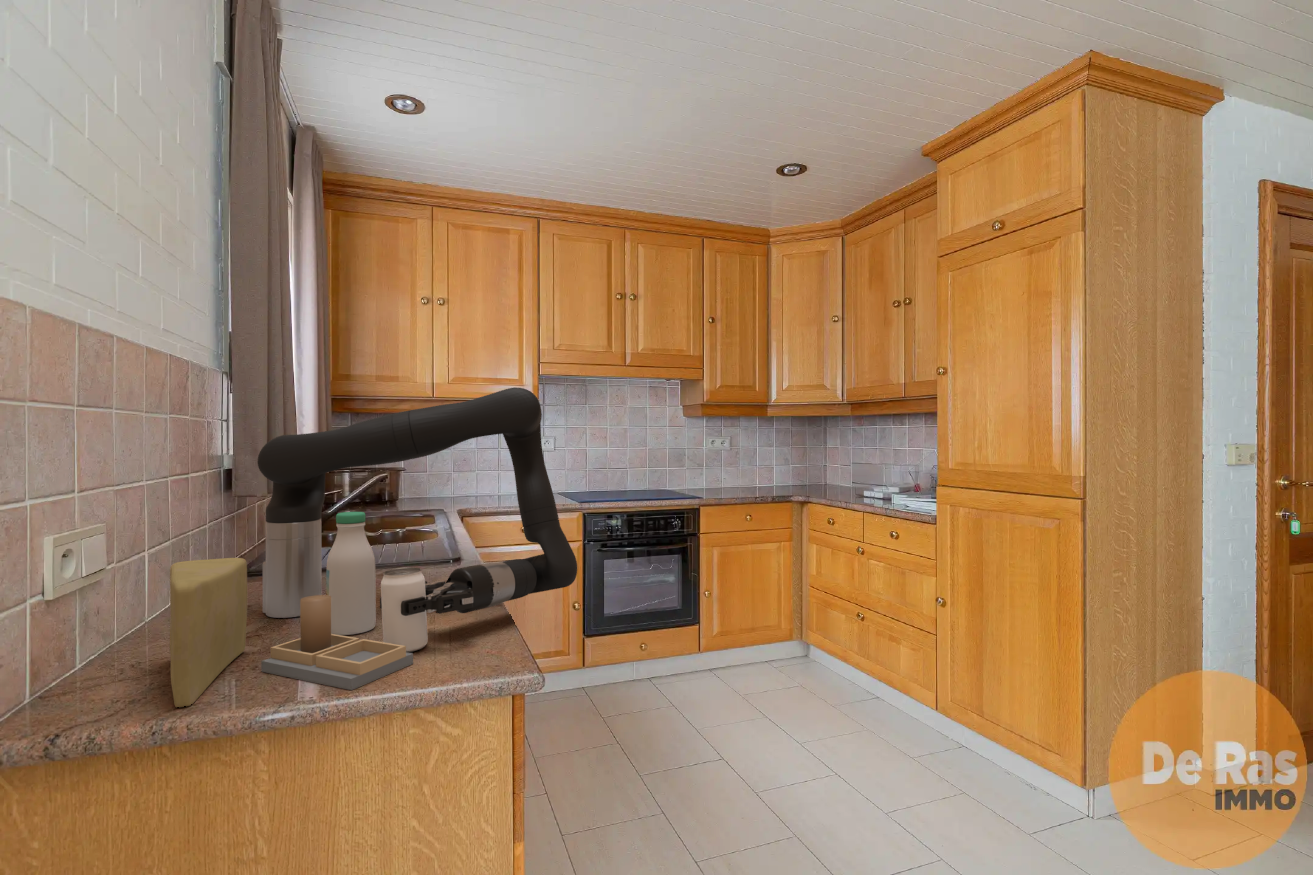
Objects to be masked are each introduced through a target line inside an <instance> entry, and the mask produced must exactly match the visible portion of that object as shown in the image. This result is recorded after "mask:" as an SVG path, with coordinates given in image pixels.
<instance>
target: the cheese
mask: <svg viewBox="0 0 1313 875" xmlns="http://www.w3.org/2000/svg"><path fill="white" fill-rule="evenodd" d="M169 602H170V605H169V606H170V607H169V609H170V617H169V618H170V619H169V620H170V623H169V653H170V683H171V689H172V690H171V691H172V698H173V704H174V707H175V708H177V707H179V708H185V707H184V706H186V707H190V706H191V704H192V705H193V704H194V703H195V702H196V701H197V700H198V698H199V697H200V696H201V695H202V694H203V693H204V692H205V690H207V689H208V688H209V686H210V685H211V684H212V683H213V681H214V680H215V679H216V678H217V677H218V676H219V675H220V674H221V672H223V671H224V670H225V669H226V668H227V667H228V666H229V665H230V664H231V662H233V661H234V660H235V659H237V658H238V656H240V655H241V654H242V653H244V652H245V649H246V638H247V621H248V620H247V617H248V563H247V560H246V559H244V558H242V557H226V558H224V557H223V558H211V559H209V558H208V559H195V560H194V559H193V560H183V561H177V562H174V563H173V564H171V565H170V568H169Z"/></svg>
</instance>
